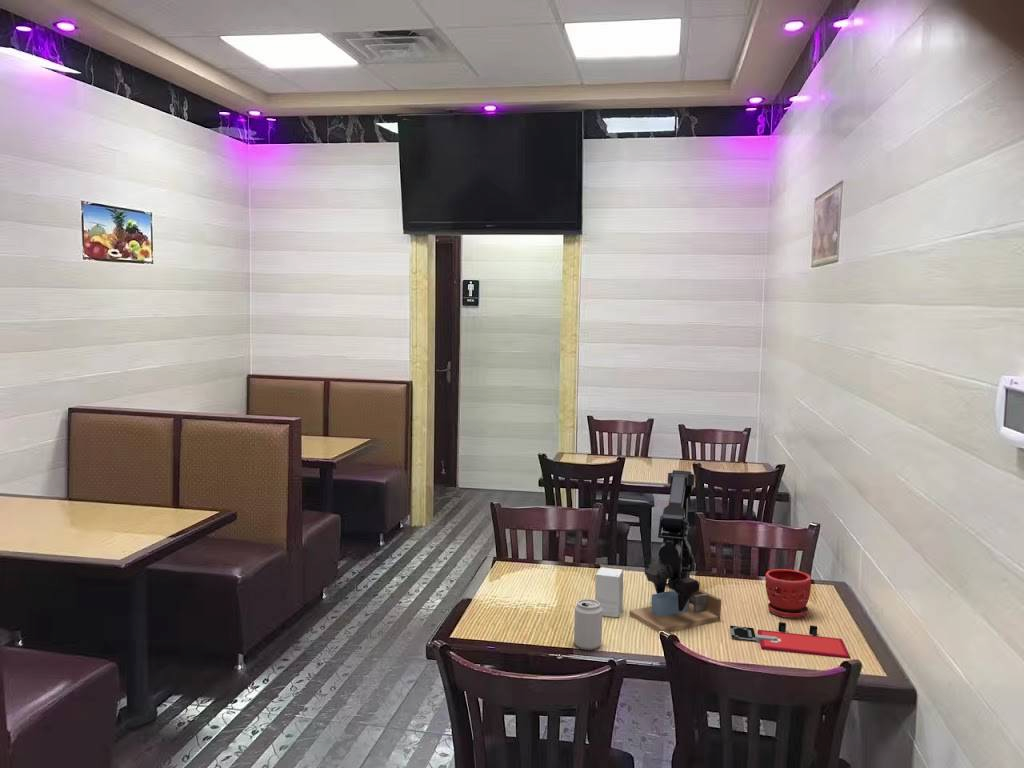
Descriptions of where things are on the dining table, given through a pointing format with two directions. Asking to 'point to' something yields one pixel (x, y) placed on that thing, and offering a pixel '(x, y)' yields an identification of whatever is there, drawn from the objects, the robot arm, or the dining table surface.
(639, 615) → the shelf
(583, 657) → the dining table surface
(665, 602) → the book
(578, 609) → the can
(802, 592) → the plant pot
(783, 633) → the red board with handle
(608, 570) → the supplement box
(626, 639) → the dining table surface
